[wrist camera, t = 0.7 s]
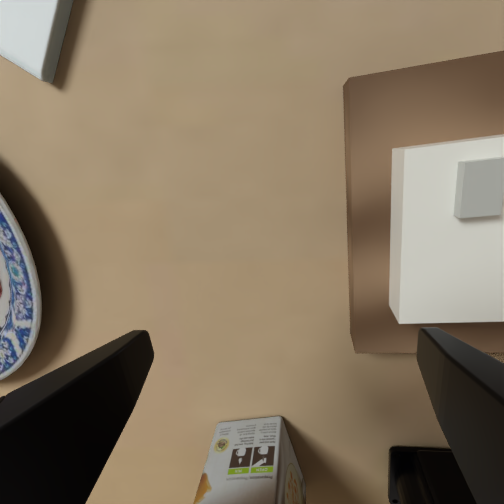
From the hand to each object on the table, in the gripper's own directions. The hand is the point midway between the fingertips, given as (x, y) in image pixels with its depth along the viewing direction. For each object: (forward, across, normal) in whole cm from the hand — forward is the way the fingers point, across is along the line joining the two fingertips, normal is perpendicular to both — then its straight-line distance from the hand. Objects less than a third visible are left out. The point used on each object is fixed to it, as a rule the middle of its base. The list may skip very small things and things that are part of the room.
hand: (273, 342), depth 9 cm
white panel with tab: (+10, -9, 0) cm, 13 cm away
